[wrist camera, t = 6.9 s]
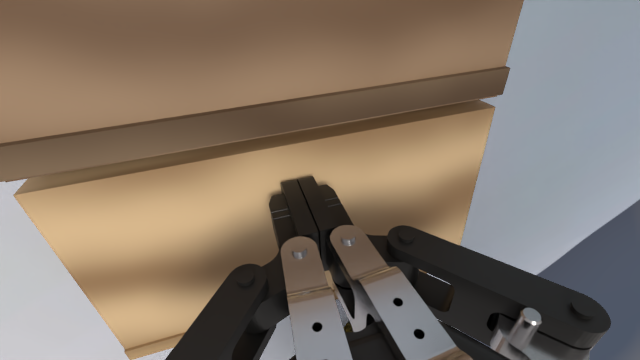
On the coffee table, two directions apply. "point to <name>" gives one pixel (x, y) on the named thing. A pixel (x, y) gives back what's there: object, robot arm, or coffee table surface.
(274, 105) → the floor board
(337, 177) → the plank
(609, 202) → the coffee table surface
